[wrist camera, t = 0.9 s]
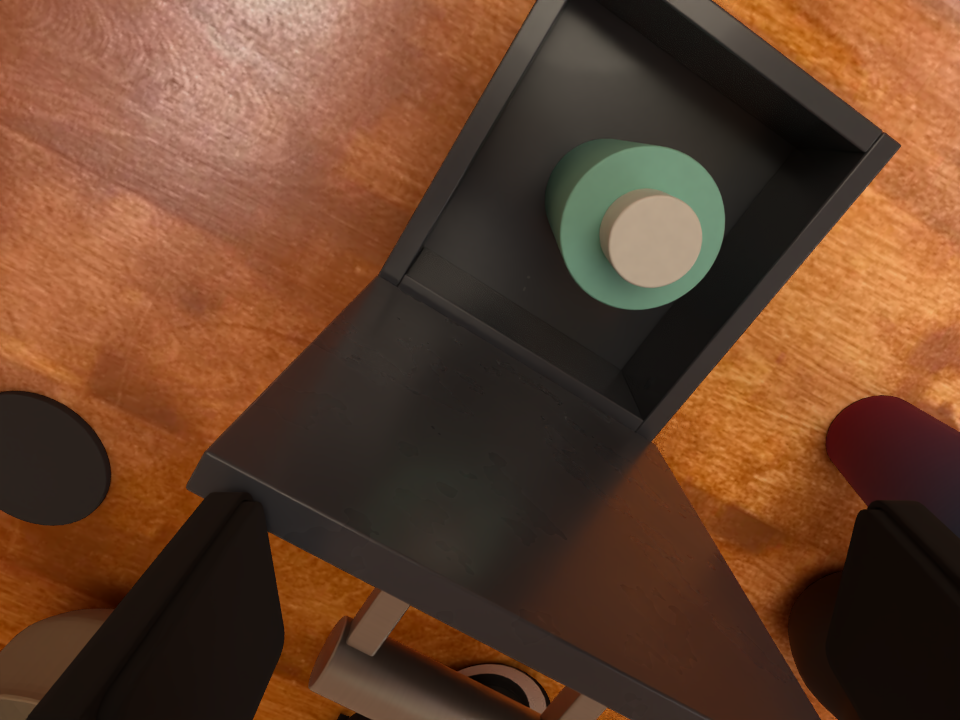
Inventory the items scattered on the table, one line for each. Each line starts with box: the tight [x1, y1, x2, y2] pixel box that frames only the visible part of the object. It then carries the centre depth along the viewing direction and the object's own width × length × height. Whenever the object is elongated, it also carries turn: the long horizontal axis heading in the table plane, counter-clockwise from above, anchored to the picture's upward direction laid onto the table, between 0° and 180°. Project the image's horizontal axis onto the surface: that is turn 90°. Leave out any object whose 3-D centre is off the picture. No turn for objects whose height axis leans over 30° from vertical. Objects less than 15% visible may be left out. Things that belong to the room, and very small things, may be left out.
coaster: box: [0, 391, 111, 526], centre depth 37 cm, size 9×9×1 cm
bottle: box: [545, 139, 725, 310], centre depth 24 cm, size 5×5×12 cm
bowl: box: [0, 608, 114, 720], centre depth 37 cm, size 13×13×10 cm
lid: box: [186, 276, 821, 720], centre depth 19 cm, size 16×14×5 cm
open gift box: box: [378, 0, 901, 442], centre depth 27 cm, size 15×14×7 cm
